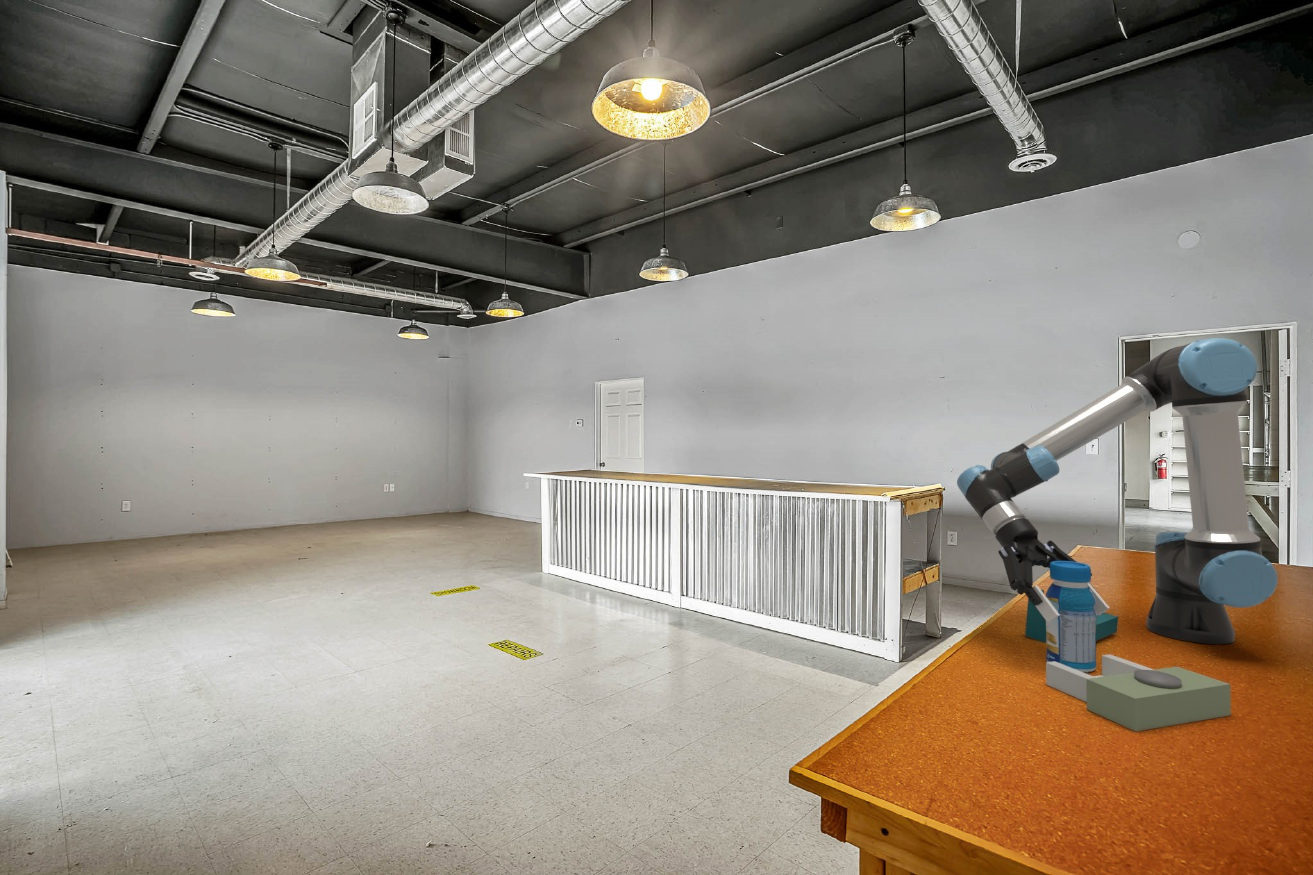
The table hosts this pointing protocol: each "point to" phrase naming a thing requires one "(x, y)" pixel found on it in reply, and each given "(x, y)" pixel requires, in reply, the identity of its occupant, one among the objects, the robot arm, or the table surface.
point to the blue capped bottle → (1072, 617)
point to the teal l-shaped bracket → (1037, 624)
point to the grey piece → (1143, 693)
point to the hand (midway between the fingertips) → (1079, 615)
